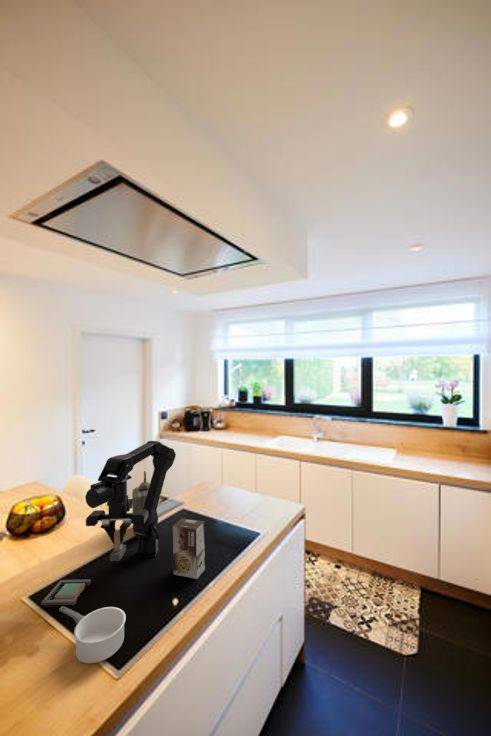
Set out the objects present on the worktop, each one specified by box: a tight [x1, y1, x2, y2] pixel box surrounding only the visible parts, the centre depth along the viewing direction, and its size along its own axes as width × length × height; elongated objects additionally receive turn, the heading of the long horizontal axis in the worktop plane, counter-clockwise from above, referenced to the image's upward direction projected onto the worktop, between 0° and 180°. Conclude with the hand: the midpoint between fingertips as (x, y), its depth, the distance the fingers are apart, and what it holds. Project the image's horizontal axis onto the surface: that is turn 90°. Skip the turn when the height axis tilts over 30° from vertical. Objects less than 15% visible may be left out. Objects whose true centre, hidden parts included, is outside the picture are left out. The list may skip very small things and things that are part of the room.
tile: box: [53, 583, 86, 600], centre depth 95 cm, size 6×6×2 cm
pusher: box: [109, 529, 127, 562], centre depth 104 cm, size 3×6×8 cm, turn 2°
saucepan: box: [58, 606, 127, 664], centre depth 78 cm, size 12×20×6 cm, turn 66°
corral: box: [40, 578, 92, 607], centre depth 95 cm, size 10×10×1 cm
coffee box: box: [172, 517, 206, 580], centre depth 107 cm, size 9×6×16 cm
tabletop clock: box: [131, 471, 158, 513], centre depth 136 cm, size 14×9×25 cm, turn 22°
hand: (118, 543), depth 104 cm, fingers closed on pusher, 2 cm apart
